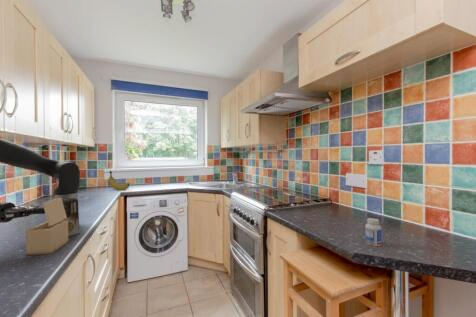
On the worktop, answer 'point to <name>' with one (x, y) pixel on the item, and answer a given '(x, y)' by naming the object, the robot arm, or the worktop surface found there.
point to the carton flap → (54, 211)
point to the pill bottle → (373, 232)
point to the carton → (46, 238)
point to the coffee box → (72, 215)
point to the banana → (115, 184)
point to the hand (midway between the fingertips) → (46, 210)
